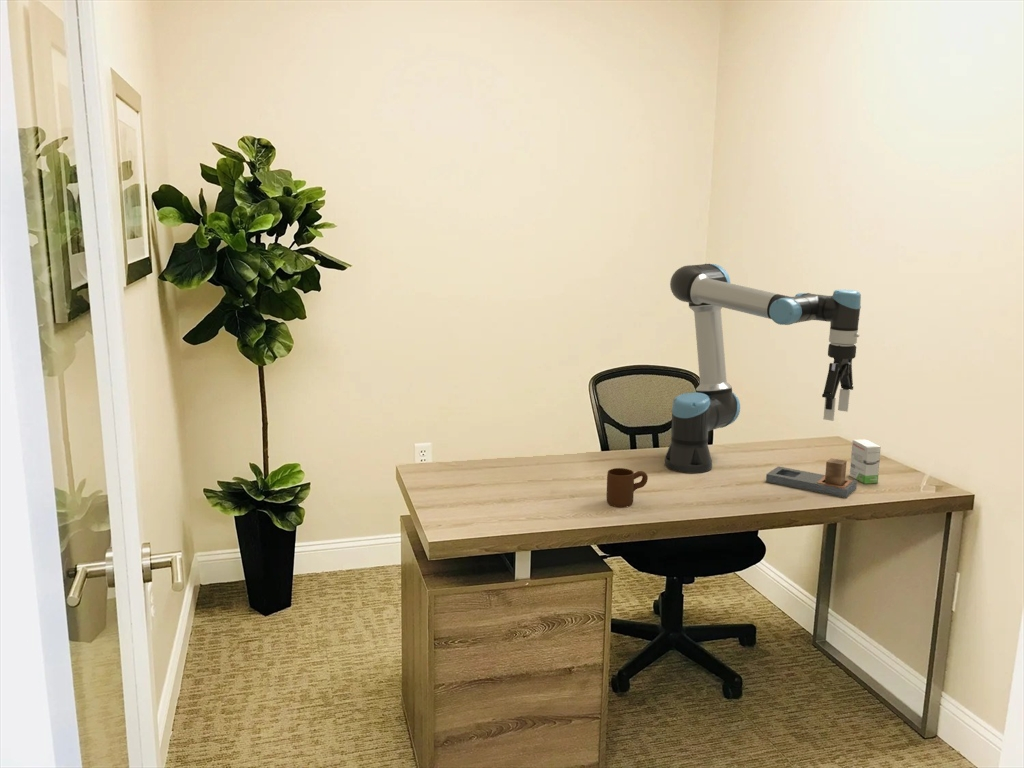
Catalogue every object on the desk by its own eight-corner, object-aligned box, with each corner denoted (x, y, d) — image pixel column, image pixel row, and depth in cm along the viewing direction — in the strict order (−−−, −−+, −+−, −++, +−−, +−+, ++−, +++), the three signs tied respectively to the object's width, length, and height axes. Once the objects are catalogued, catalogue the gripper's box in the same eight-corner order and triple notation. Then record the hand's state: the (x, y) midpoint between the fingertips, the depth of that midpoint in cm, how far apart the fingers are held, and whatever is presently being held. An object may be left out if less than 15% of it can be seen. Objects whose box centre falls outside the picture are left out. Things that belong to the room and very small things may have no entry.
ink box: (878, 483, 260) (882, 446, 258) (863, 484, 259) (866, 446, 257) (863, 474, 268) (866, 438, 266) (848, 475, 268) (851, 439, 265)
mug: (641, 496, 248) (642, 465, 246) (651, 505, 241) (653, 473, 239) (602, 500, 245) (603, 468, 243) (611, 509, 238) (612, 476, 236)
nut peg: (824, 490, 253) (826, 461, 251) (828, 486, 257) (831, 458, 255) (839, 493, 251) (842, 464, 249) (844, 489, 254) (846, 460, 252)
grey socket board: (765, 481, 261) (766, 473, 261) (777, 473, 269) (778, 465, 268) (846, 498, 247) (847, 489, 246) (856, 489, 255) (857, 480, 254)
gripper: (842, 351, 233) (835, 426, 238) (868, 339, 253) (861, 409, 257) (815, 348, 238) (808, 421, 242) (842, 337, 257) (835, 405, 262)
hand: (835, 415), depth 250 cm, fingers open, 13 cm apart
